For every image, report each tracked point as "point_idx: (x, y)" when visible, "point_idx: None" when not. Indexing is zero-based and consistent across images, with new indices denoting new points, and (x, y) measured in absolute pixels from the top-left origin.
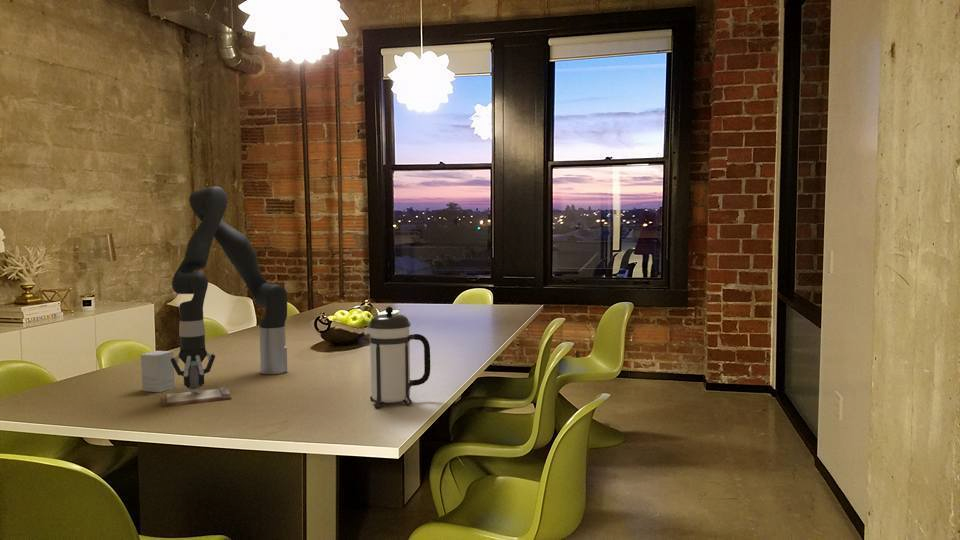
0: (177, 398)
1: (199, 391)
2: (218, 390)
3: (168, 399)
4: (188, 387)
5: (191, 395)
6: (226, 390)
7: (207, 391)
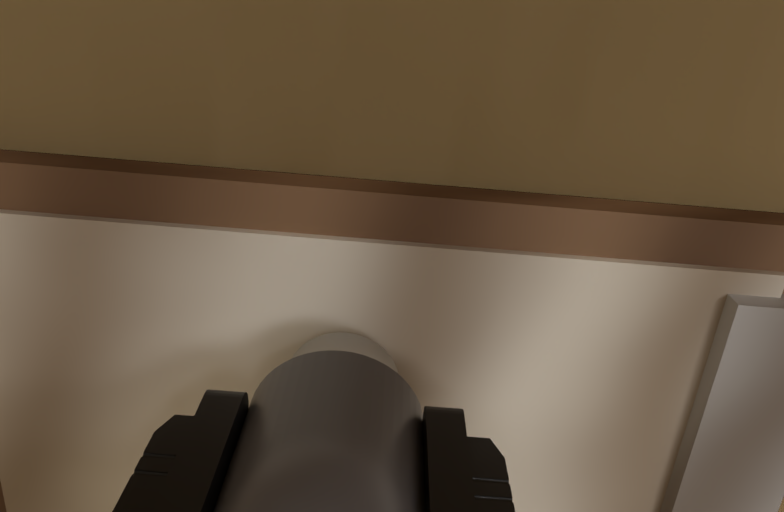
0: None
1: (425, 283)
2: (682, 363)
3: (19, 496)
4: None
5: None
6: (750, 505)
7: (529, 342)
